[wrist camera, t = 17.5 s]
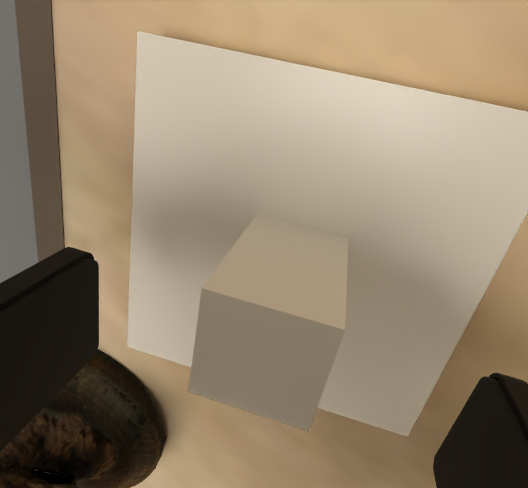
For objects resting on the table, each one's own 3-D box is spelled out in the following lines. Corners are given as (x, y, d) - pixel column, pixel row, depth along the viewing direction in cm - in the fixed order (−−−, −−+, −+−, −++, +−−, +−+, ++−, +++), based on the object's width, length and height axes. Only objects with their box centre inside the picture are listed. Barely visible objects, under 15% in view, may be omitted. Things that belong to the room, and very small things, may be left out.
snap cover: (401, 397, 16) (432, 596, 10) (150, 320, 18) (37, 450, 11) (540, 115, 11) (786, 157, 5) (168, 38, 12) (-19, -8, 6)
